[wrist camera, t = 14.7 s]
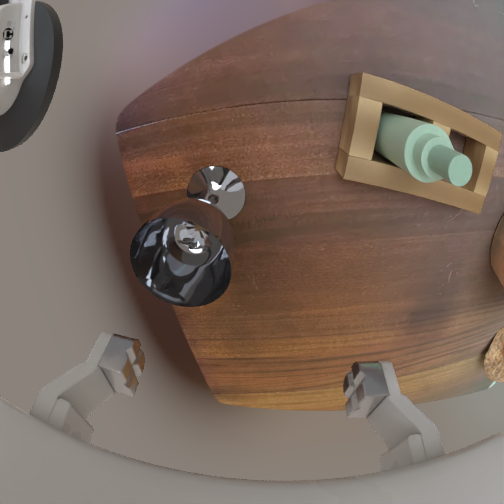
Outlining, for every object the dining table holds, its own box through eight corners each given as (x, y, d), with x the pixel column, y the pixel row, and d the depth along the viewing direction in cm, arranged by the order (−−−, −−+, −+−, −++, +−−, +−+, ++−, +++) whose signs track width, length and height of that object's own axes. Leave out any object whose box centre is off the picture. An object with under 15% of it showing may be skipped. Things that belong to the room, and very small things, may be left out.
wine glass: (260, 179, 32) (249, 245, 19) (233, 234, 36) (211, 319, 23) (196, 152, 30) (140, 200, 18) (175, 209, 34) (123, 283, 22)
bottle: (371, 107, 26) (442, 124, 13) (411, 119, 26) (492, 148, 13) (363, 150, 29) (423, 196, 16) (401, 160, 29) (473, 211, 16)
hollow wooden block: (350, 74, 24) (362, 72, 20) (481, 126, 24) (502, 133, 20) (334, 167, 30) (343, 179, 26) (462, 200, 30) (479, 214, 26)
